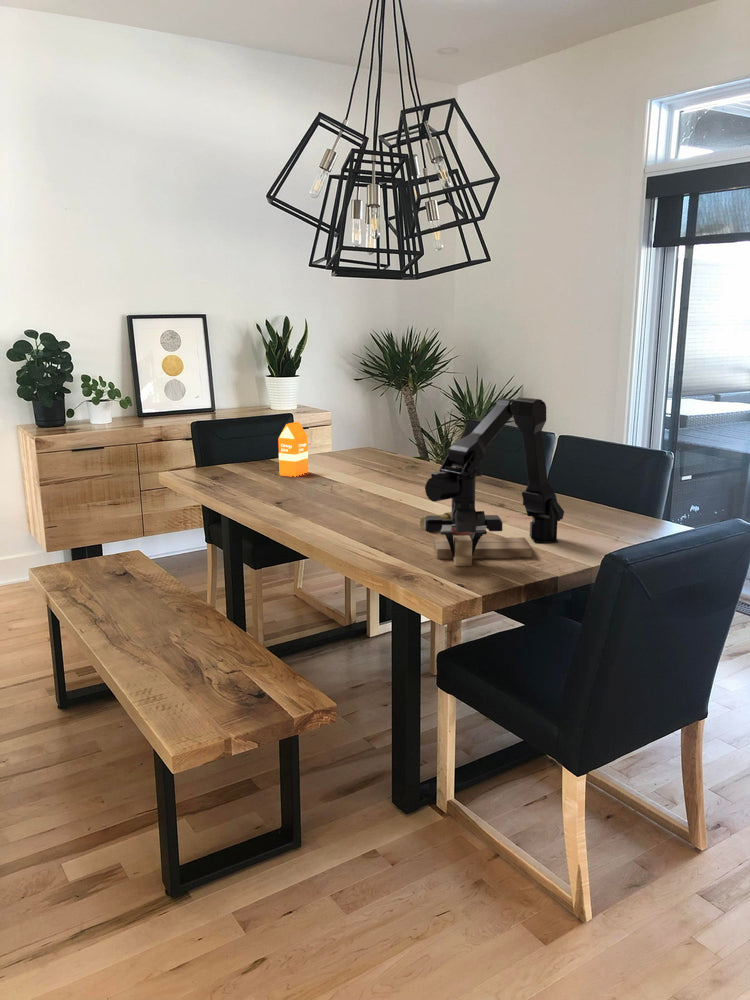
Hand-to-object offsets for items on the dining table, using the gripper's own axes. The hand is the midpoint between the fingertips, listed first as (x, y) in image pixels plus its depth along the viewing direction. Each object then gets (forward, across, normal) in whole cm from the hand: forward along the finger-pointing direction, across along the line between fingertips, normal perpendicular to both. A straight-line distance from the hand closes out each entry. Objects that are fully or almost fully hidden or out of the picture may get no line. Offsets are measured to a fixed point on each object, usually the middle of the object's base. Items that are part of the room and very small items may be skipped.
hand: (462, 556), depth 201 cm
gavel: (+2, +1, +26) cm, 26 cm away
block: (+1, 0, +3) cm, 3 cm away
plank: (+1, +6, +8) cm, 10 cm away
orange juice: (+2, -52, +116) cm, 127 cm away
